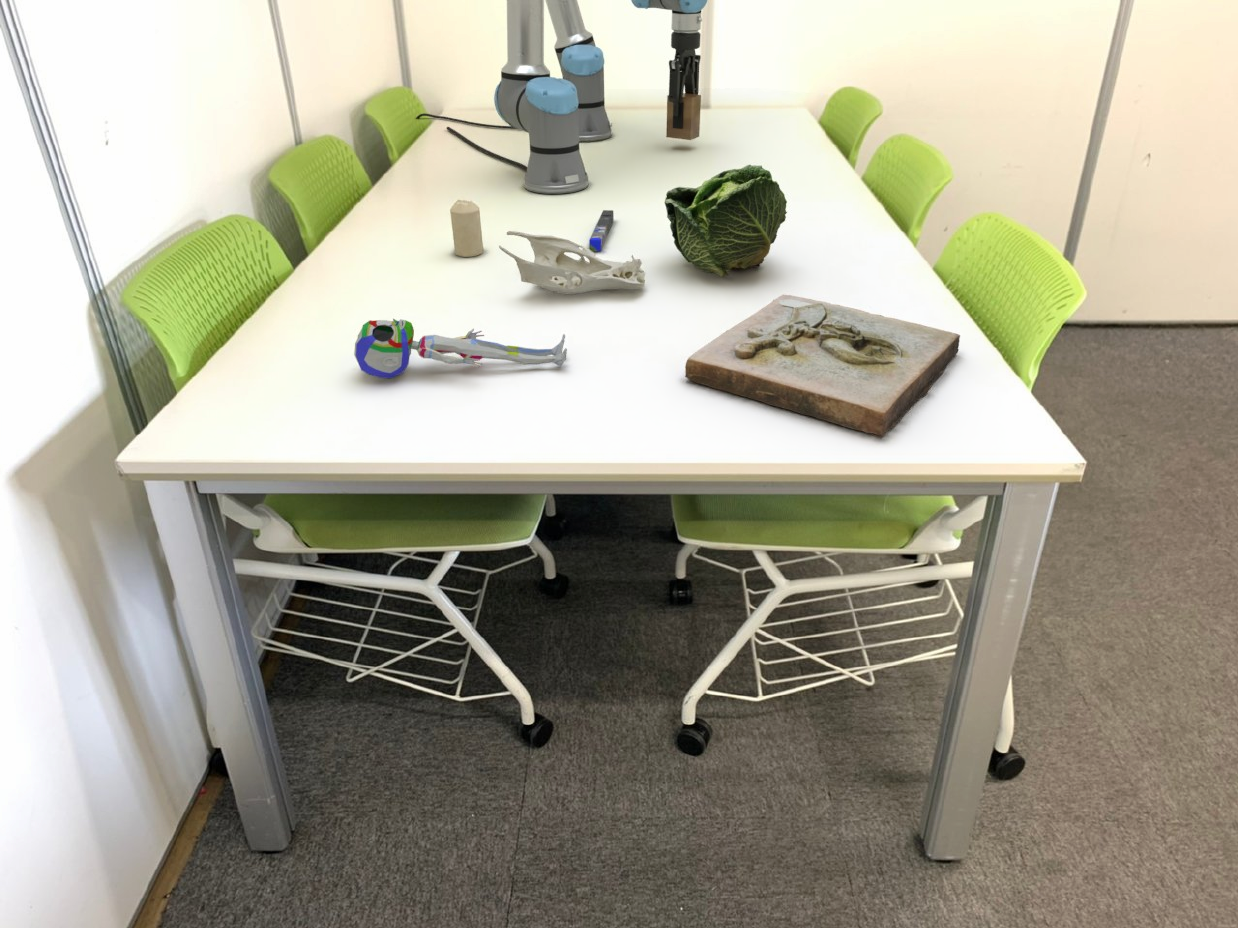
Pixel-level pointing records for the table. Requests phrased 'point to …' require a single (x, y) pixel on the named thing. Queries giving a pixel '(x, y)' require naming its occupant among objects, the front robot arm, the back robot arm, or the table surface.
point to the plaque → (827, 362)
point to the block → (685, 118)
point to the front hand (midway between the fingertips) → (682, 126)
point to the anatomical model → (574, 267)
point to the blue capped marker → (601, 230)
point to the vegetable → (727, 219)
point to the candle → (466, 228)
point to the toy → (435, 349)
